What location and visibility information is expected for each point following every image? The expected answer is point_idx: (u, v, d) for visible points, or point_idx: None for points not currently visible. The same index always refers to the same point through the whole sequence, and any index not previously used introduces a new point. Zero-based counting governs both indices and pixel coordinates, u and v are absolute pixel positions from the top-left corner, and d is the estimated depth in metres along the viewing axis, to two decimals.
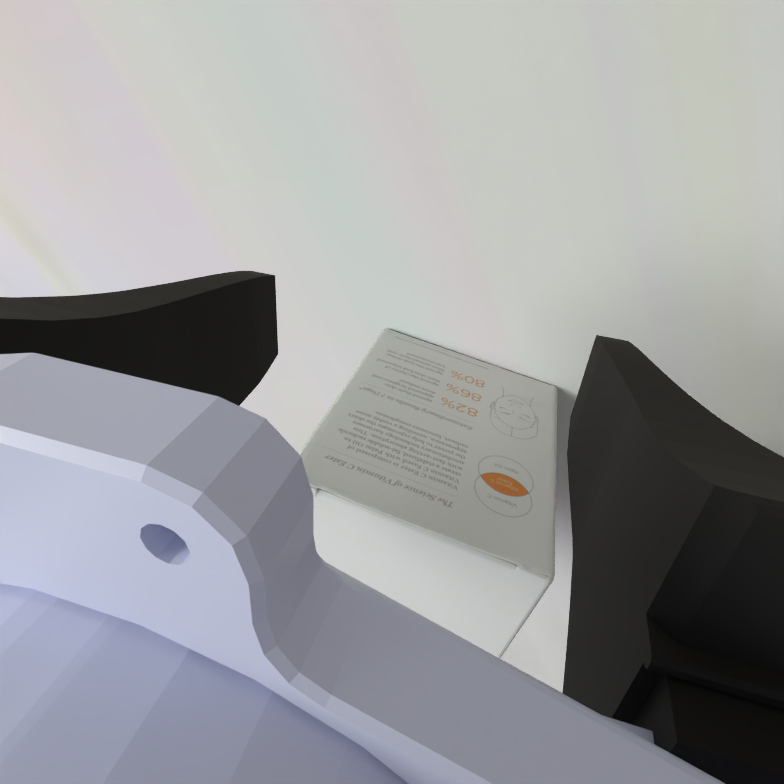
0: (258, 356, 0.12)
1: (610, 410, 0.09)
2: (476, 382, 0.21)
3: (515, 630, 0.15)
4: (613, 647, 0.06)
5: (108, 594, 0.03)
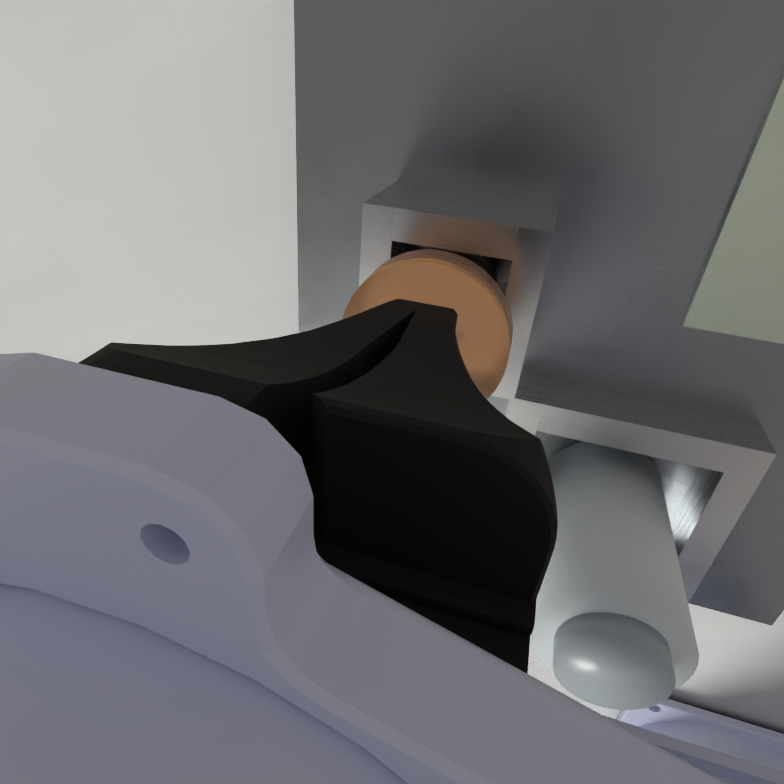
0: None
1: None
2: None
3: None
4: None
5: (108, 594, 0.03)
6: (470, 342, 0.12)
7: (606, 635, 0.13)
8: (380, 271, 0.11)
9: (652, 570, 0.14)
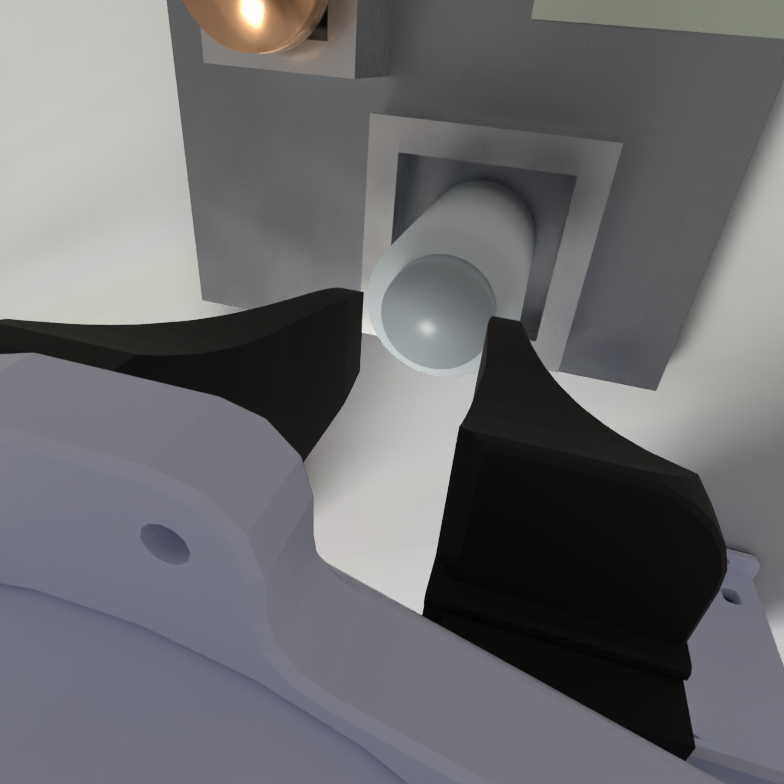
0: (346, 375, 0.12)
1: None
2: None
3: None
4: None
5: (108, 594, 0.03)
6: None
7: (423, 265, 0.13)
8: None
9: (481, 224, 0.14)
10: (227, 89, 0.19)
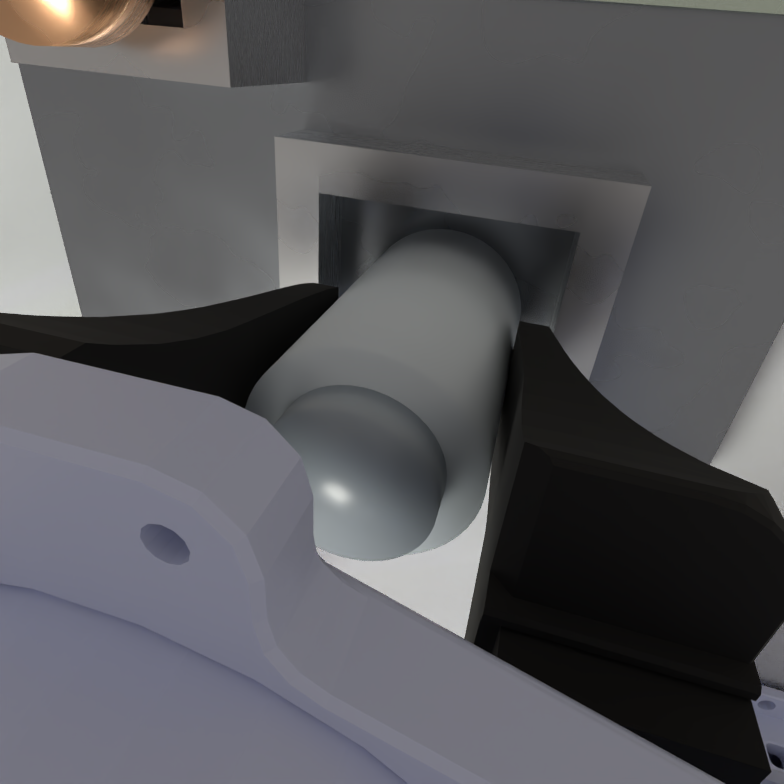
0: None
1: (514, 390, 0.09)
2: None
3: None
4: (478, 608, 0.06)
5: (108, 594, 0.03)
6: None
7: None
8: None
9: (422, 328, 0.08)
10: (91, 99, 0.14)
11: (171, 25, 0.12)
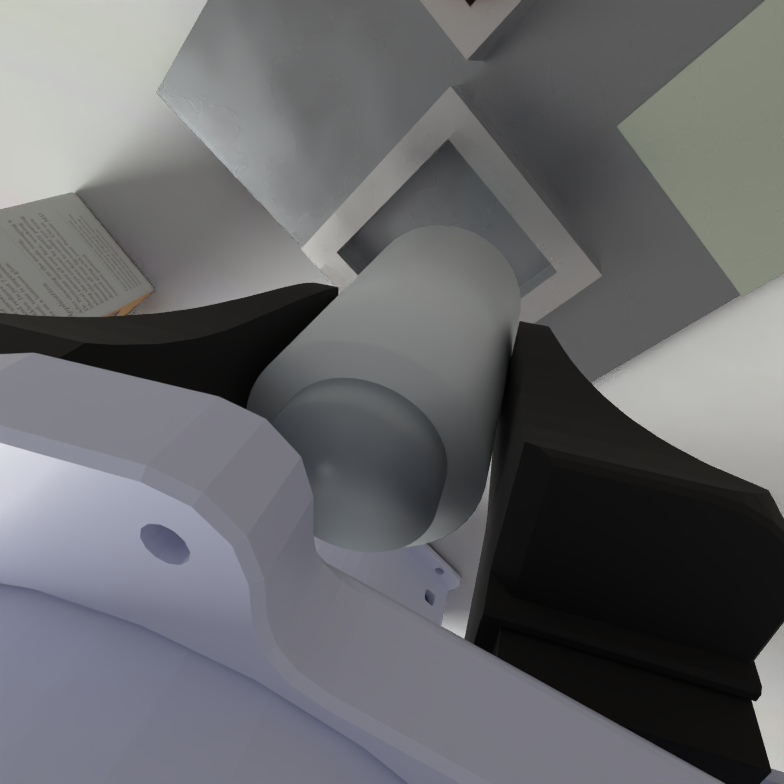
0: None
1: (514, 390, 0.09)
2: None
3: None
4: (478, 608, 0.06)
5: (107, 595, 0.03)
6: None
7: (319, 403, 0.07)
8: None
9: (425, 323, 0.08)
10: None
11: None
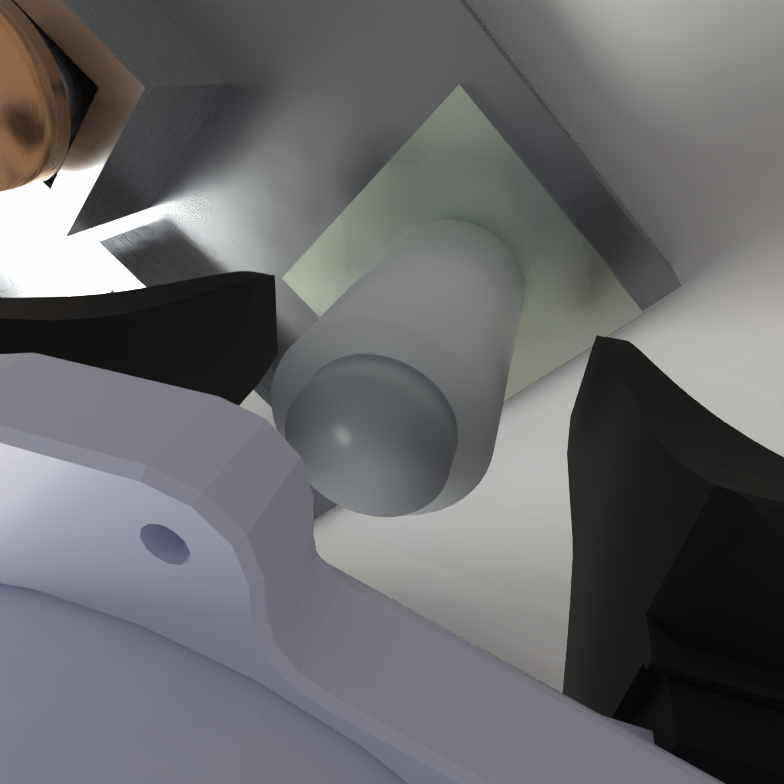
0: (258, 356, 0.12)
1: (610, 410, 0.09)
2: None
3: None
4: (613, 647, 0.06)
5: (108, 594, 0.03)
6: None
7: None
8: None
9: (442, 307, 0.09)
10: None
11: None
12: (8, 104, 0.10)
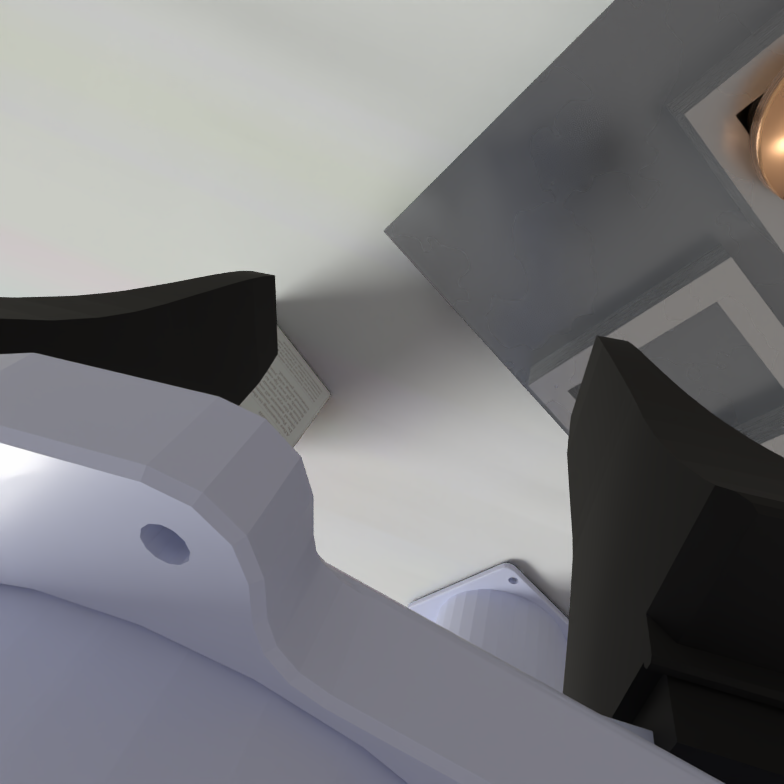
0: (258, 356, 0.12)
1: (610, 410, 0.09)
2: None
3: None
4: (613, 647, 0.06)
5: (108, 594, 0.03)
6: None
7: None
8: None
9: None
10: (614, 97, 0.16)
11: None
12: None
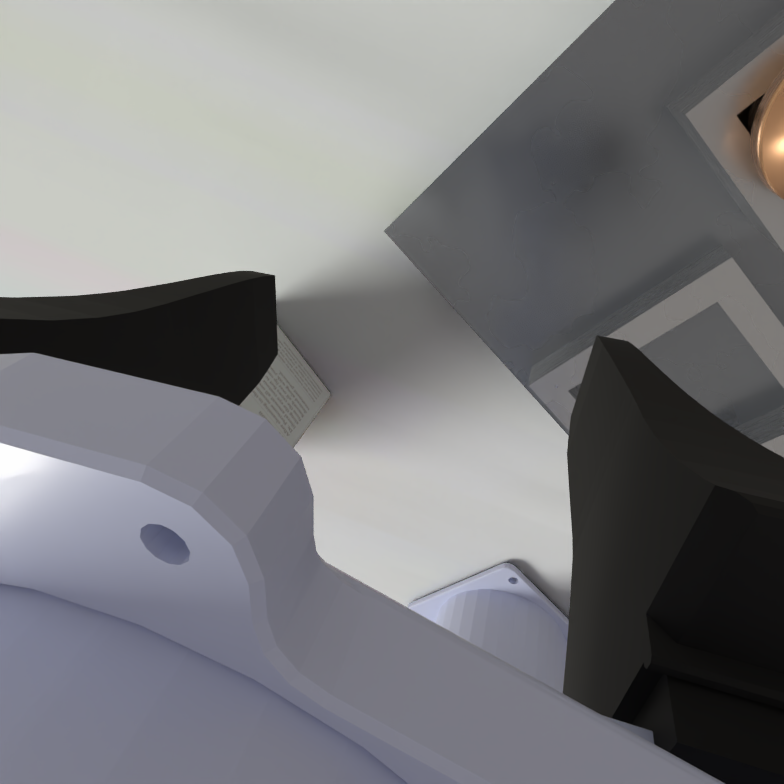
0: (258, 356, 0.12)
1: (610, 410, 0.09)
2: None
3: None
4: (613, 647, 0.06)
5: (108, 594, 0.03)
6: None
7: None
8: None
9: None
10: (615, 97, 0.16)
11: None
12: None
